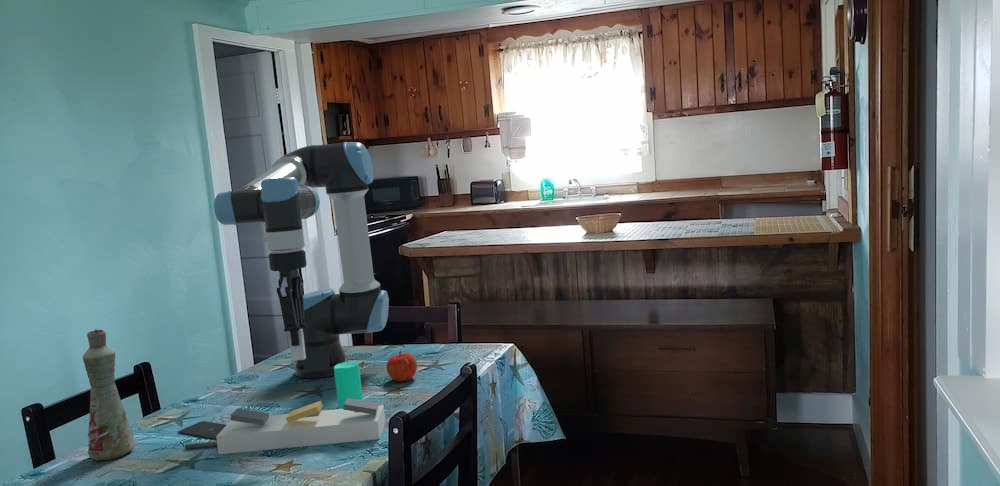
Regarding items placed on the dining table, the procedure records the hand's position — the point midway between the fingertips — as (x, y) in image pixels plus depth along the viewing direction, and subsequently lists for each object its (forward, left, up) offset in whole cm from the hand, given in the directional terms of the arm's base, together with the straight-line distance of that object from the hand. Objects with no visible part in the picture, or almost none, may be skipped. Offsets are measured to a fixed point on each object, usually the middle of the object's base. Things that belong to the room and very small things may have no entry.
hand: (298, 359), depth 153 cm
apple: (-37, +17, -18) cm, 44 cm away
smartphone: (-11, -25, -18) cm, 33 cm away
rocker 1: (0, -12, -12) cm, 17 cm away
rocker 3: (0, +12, -12) cm, 17 cm away
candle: (-19, +6, -18) cm, 27 cm away
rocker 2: (0, 0, -12) cm, 12 cm away
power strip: (-1, -5, -18) cm, 19 cm away
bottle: (-2, -43, -18) cm, 47 cm away
